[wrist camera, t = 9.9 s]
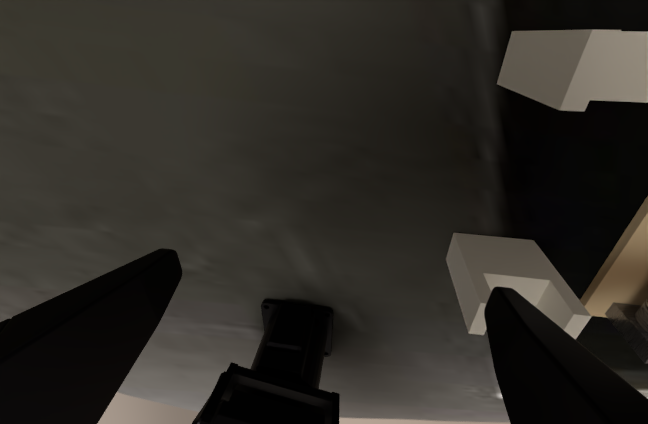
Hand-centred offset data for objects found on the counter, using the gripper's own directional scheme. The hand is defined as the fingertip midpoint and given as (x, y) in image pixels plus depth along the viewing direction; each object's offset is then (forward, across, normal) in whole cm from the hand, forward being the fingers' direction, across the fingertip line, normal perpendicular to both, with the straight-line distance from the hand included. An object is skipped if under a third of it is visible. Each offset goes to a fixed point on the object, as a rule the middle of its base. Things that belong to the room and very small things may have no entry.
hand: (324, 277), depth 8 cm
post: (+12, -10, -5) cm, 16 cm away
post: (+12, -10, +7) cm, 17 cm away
